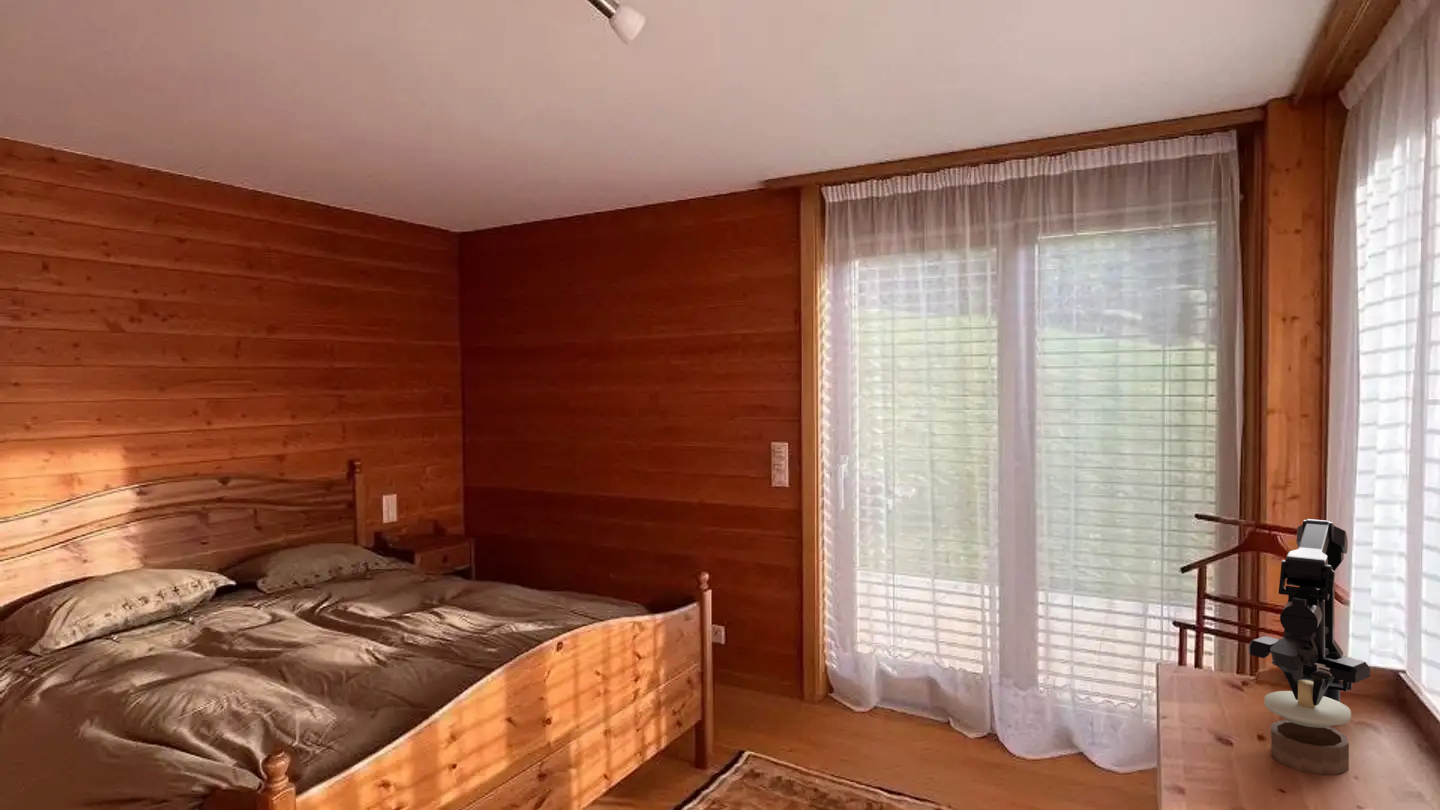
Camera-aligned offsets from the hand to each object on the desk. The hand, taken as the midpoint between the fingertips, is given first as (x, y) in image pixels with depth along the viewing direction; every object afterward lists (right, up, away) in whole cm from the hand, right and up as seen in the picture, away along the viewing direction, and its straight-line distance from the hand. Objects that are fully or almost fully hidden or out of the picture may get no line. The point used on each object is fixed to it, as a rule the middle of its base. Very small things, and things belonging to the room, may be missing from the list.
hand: (1306, 702), depth 161 cm
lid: (0, -3, 0) cm, 3 cm away
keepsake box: (+1, -11, 0) cm, 11 cm away
